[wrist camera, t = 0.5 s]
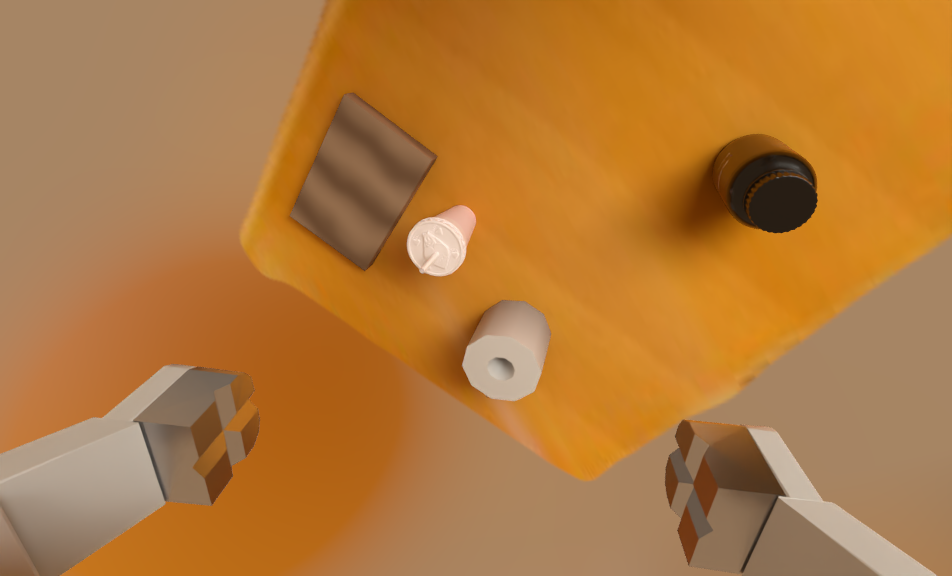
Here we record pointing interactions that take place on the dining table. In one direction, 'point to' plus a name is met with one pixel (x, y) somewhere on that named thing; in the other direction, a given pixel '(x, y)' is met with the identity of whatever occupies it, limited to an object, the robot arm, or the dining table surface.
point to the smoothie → (441, 241)
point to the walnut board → (361, 181)
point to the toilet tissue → (507, 351)
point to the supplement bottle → (765, 183)
